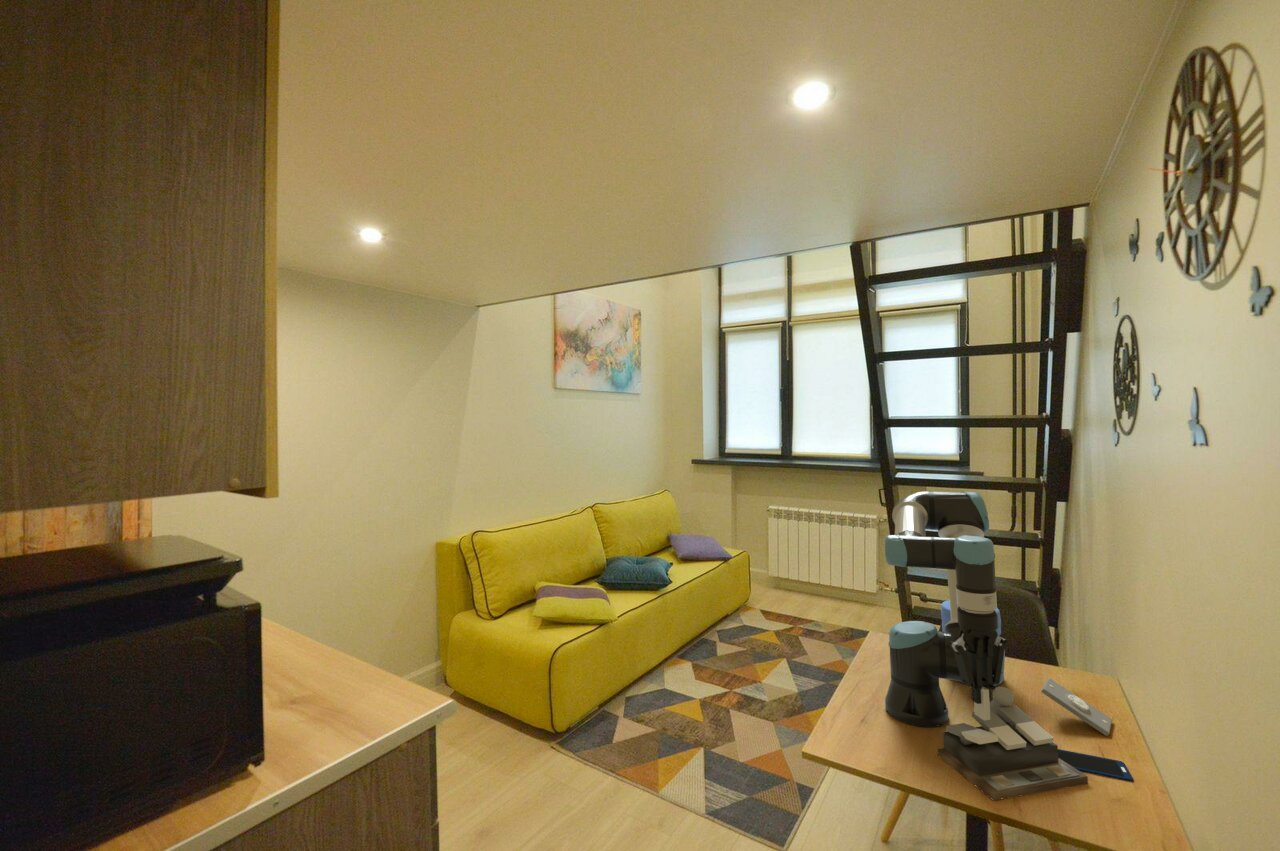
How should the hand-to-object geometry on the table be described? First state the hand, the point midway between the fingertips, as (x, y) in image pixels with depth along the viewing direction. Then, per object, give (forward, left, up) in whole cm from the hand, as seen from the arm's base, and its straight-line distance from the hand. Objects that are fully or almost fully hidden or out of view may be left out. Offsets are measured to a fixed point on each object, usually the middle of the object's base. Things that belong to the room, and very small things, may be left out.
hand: (982, 716), depth 118 cm
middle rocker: (-4, +7, -7) cm, 11 cm away
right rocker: (-4, +14, -7) cm, 16 cm away
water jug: (-41, +34, -13) cm, 55 cm away
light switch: (-13, +39, -13) cm, 43 cm away
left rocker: (-3, 0, -7) cm, 8 cm away
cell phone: (+2, +25, -14) cm, 28 cm away
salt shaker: (-15, +17, -12) cm, 25 cm away
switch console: (-1, +7, -13) cm, 15 cm away
